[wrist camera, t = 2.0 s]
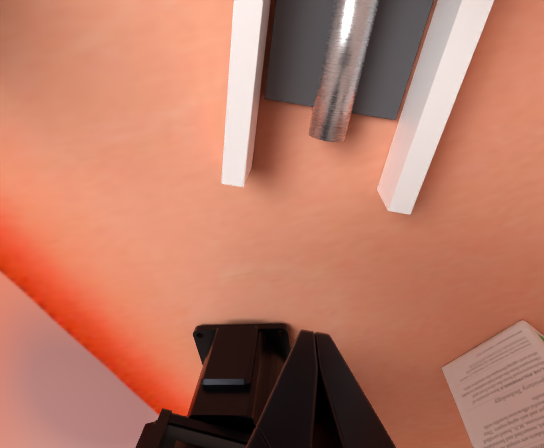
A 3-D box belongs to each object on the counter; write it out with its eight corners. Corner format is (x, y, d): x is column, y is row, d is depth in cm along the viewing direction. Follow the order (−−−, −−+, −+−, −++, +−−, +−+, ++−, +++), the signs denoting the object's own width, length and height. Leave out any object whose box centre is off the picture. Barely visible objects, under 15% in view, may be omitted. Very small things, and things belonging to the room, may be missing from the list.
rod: (342, 135, 15) (346, 144, 14) (308, 129, 15) (308, 138, 14) (399, -98, 11) (413, -120, 10) (353, -106, 11) (360, -128, 10)
